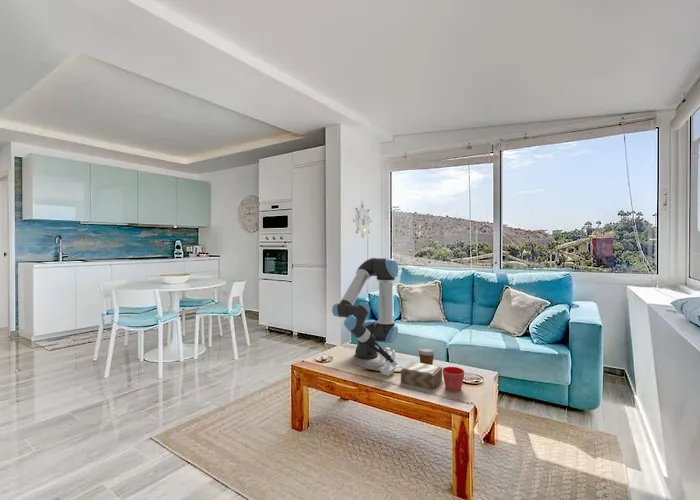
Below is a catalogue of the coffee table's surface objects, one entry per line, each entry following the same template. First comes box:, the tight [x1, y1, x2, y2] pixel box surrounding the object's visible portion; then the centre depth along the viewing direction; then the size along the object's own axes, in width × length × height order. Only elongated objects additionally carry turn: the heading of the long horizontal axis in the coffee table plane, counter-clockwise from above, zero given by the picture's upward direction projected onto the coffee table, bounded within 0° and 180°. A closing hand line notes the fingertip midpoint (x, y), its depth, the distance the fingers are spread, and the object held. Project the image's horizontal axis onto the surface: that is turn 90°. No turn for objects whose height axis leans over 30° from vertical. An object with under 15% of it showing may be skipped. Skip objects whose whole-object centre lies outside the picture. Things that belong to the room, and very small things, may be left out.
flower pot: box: [442, 366, 465, 393], centre depth 191 cm, size 11×11×10 cm
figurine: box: [378, 347, 397, 376], centre depth 212 cm, size 7×9×15 cm
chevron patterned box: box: [400, 361, 443, 390], centre depth 201 cm, size 18×15×8 cm
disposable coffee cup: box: [418, 347, 436, 365], centre depth 219 cm, size 10×10×12 cm
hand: (390, 361), depth 212 cm, fingers open, 13 cm apart
